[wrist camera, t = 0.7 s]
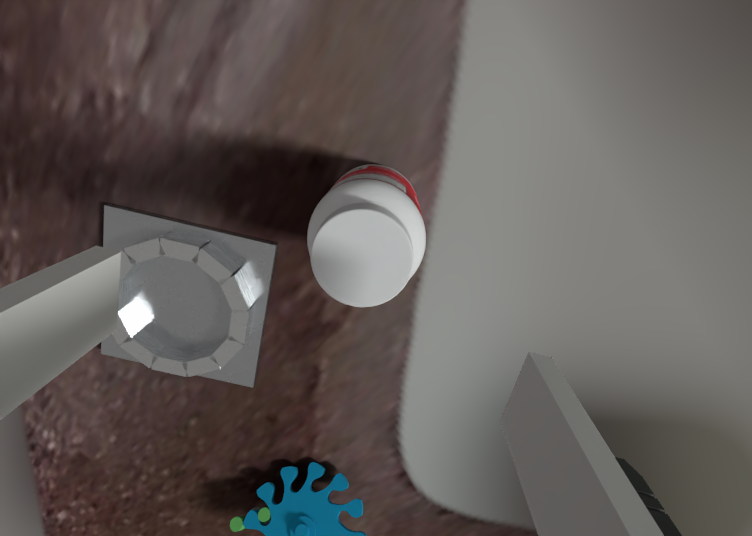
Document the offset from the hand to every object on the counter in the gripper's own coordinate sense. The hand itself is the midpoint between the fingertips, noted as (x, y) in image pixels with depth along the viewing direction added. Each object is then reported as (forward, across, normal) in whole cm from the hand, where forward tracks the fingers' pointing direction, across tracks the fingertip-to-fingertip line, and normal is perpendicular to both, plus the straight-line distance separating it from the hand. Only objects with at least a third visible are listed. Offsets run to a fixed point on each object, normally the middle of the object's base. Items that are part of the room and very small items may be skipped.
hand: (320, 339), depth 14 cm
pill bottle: (+17, +1, +1) cm, 18 cm away
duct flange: (+17, -11, -9) cm, 23 cm away
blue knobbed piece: (+18, +1, -25) cm, 31 cm away
